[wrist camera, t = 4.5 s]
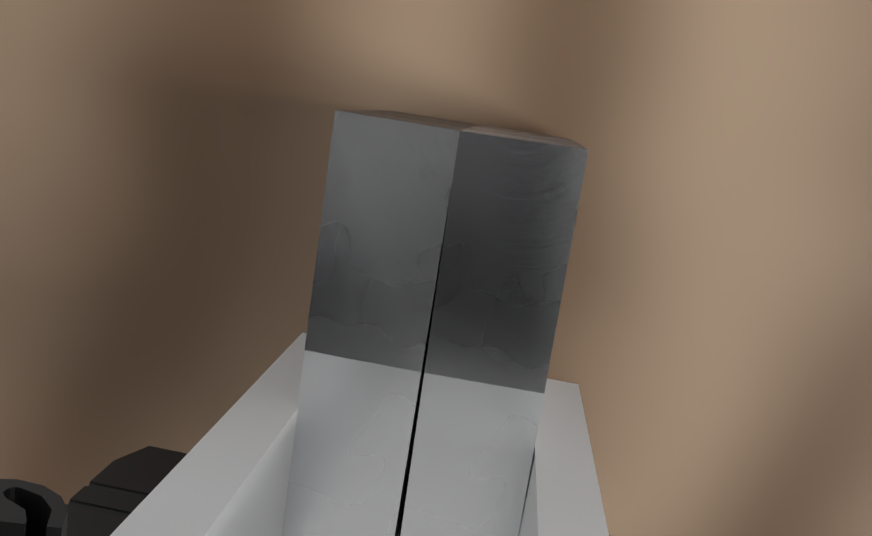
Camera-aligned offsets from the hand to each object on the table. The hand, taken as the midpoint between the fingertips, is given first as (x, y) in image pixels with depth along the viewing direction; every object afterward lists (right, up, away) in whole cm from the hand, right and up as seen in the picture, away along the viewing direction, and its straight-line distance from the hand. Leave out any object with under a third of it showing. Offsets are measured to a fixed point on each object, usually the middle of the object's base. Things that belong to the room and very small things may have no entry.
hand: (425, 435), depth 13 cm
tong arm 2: (-1, -3, +2) cm, 4 cm away
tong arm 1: (0, -4, +2) cm, 4 cm away
